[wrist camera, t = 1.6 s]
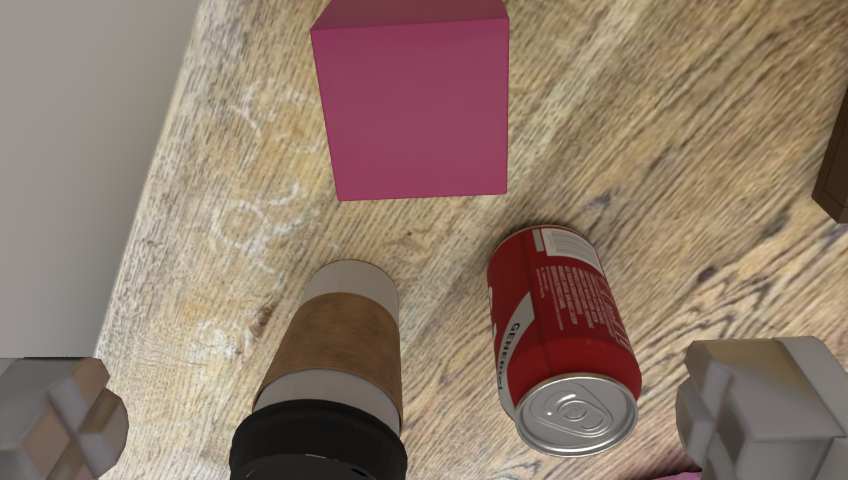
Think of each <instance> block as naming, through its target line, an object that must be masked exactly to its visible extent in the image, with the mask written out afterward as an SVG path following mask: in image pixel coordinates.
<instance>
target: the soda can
mask: <svg viewBox="0 0 848 480" xmlns="http://www.w3.org/2000/svg"><path fill="white" fill-rule="evenodd" d="M487 281H488V291H489V302H490V312H491V322H492V333H493V343H494V353H495V364H496V374H497V384H498V394H499V399H500V402H501V405H502V407H503V409H504V411H505V412H506V414H507V415H508V416H509V417H510V418H511V419H512V420H513V421H514V422H515V425H516V429H517V432H518V434H519V436H520V437H521V439H522V440H523V441H524V442H525V443H526V444H527V445H528V446H530V447H531V448H533V449H534V450H536V451H538V452H541V453H543V454H546V455H550V456H554V457H562V458H580V457H587V456H592V455H596V454H599V453H602V452H605V451H607V450H609V449H611V448H613V447H615V446H616V445H618V444H619V443H621V442H622V441H623V440H625V439H626V438H627V437H628V436H629V435H630V433H631V432H632V431H633V429H634V427H635V425H636V423H637V420H638V406H637V403H636V402H637V400H638V398H639V395H640V392H641V386H642V378H641V372H640V369H639V366H638V363H637V360H636V358H635V355H634V352H633V350H632V347H631V344H630V342H629V339H628V336H627V333H626V331H625V328H624V325H623V323H622V320H621V317H620V314H619V312H618V309H617V306H616V304H615V301H614V298H613V295H612V293H611V290H610V287H609V285H608V282H607V279H606V276H605V274H604V271H603V268H602V266H601V263H600V260H599V257H598V255H597V252H596V250H595V248H594V247H593V245H592V244H591V243H590V241H589V240H588V239H587V238H585V237H584V236H583V235H582V234H580V233H578V232H577V231H575V230H572V229H570V228H567V227H563V226H558V225H537V226H532V227H528V228H525V229H522V230H520V231H517V232H516V233H514V234H512V235H510V236H509V237H507V238H506V239H505V240H504V241H502V242H501V243H500V244H499V246H498V247H497V248H496V249H495V251H494V252H493V254H492V256H491V258H490V260H489V263H488V268H487Z"/></svg>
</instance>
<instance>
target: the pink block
mask: <svg viewBox="0 0 848 480" xmlns="http://www.w3.org/2000/svg"><path fill="white" fill-rule="evenodd" d="M310 35H311V41H312V47H313V53H314V59H315V65H316V71H317V77H318V83H319V89H320V95H321V101H322V107H323V113H324V119H325V126H326V132H327V138H328V144H329V150H330V156H331V162H332V168H333V174H334V180H335V186H336V192H337V198H338V201H357V200H381V199H404V198H427V197H451V196H474V195H497V194H506V193H507V163H508V80H509V17H508V14H507V12H506V9H505V6H504V3H503V1H502V0H331V1H330V3H329V4H328V5H327V7H326V8H325V10H324V11H323V12H322V14H321V15H320V17H319V18H318V19H317V21H316V22H315V23H314V25H313V26H312V28H311V29H310Z"/></svg>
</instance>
